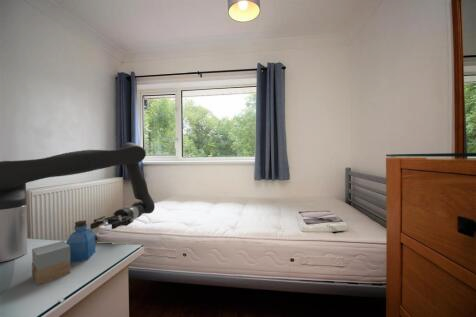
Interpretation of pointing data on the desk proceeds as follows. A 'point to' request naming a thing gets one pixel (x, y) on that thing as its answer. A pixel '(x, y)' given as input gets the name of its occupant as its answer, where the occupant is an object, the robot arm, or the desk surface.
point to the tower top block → (50, 255)
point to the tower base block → (50, 272)
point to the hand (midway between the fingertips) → (101, 226)
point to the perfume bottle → (81, 242)
